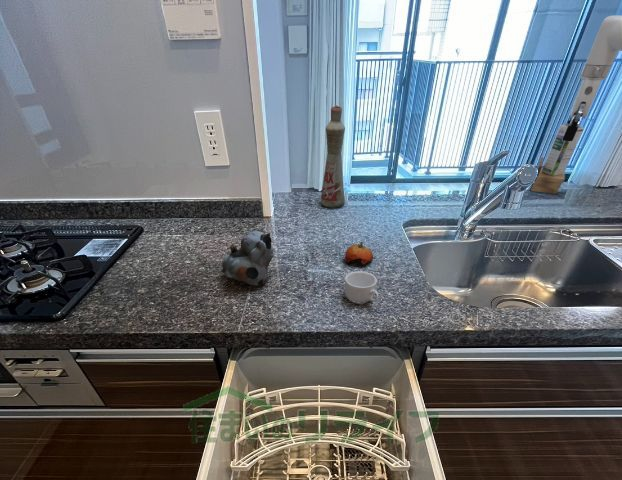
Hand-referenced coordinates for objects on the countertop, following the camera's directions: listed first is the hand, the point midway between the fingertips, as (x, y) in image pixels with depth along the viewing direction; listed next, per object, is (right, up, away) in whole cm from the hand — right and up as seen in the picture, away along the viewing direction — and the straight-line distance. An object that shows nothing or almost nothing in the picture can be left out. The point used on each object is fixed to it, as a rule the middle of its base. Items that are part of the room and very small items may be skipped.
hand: (567, 137), depth 130 cm
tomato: (-78, -56, -26) cm, 100 cm away
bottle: (-84, -23, +3) cm, 87 cm away
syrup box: (0, -7, +9) cm, 11 cm away
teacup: (-79, -71, -39) cm, 114 cm away
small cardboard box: (0, -10, +12) cm, 16 cm away
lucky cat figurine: (-109, -62, -31) cm, 130 cm away
